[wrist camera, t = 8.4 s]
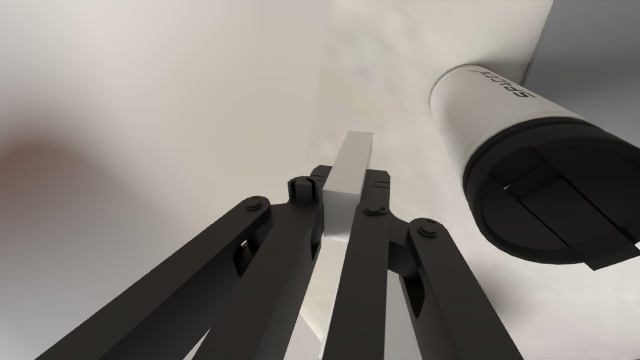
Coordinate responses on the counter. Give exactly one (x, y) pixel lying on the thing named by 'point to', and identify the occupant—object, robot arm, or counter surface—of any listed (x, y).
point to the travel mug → (538, 172)
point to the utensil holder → (393, 325)
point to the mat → (591, 63)
